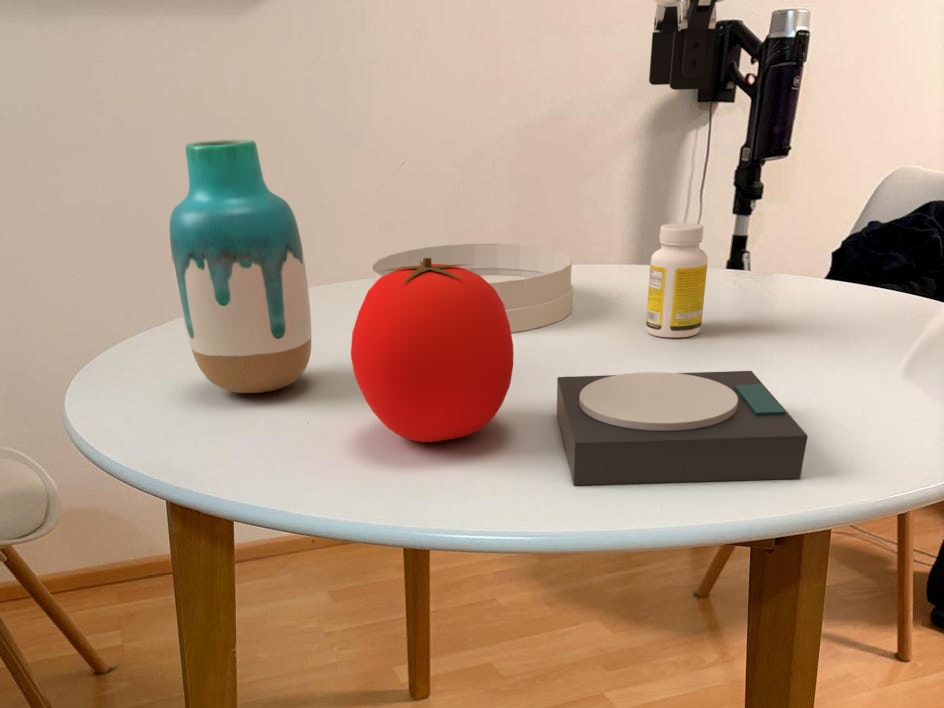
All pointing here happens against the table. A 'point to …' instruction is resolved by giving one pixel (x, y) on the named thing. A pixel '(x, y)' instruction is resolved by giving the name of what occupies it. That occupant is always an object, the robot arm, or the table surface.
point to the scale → (676, 428)
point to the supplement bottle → (677, 282)
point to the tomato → (432, 351)
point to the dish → (505, 277)
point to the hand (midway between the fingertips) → (677, 86)
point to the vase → (240, 272)
